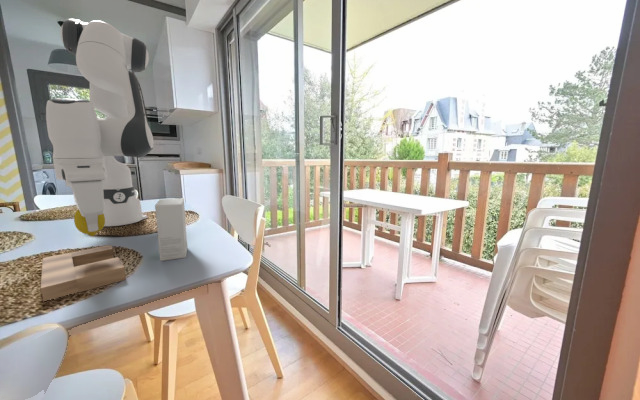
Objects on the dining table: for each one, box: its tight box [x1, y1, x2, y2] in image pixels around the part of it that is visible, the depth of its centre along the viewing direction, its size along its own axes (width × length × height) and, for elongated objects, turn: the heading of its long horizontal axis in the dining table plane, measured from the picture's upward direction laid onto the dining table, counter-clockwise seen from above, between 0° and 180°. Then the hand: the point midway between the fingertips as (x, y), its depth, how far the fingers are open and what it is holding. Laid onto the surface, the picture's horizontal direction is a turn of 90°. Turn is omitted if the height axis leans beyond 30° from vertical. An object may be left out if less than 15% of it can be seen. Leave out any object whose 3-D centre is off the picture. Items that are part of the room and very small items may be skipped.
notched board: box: [40, 244, 127, 302], centre depth 61 cm, size 20×13×3 cm, turn 46°
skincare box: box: [154, 197, 188, 262], centre depth 72 cm, size 8×7×16 cm
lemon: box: [73, 208, 105, 237], centre depth 62 cm, size 6×6×8 cm
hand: (91, 227), depth 63 cm, fingers closed on lemon, 5 cm apart
